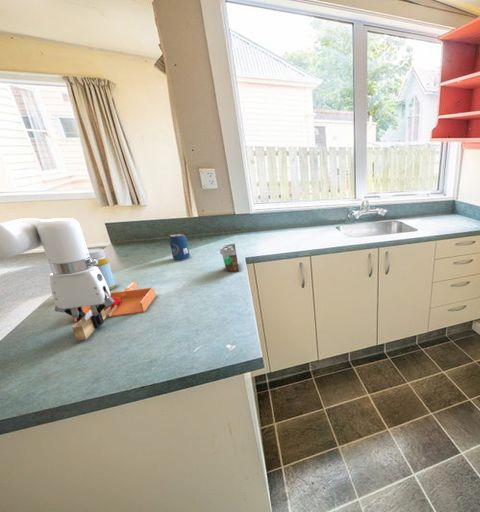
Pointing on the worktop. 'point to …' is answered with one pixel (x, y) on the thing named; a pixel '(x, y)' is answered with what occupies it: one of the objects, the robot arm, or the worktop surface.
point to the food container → (230, 257)
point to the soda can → (179, 247)
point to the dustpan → (130, 300)
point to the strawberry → (116, 301)
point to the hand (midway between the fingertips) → (92, 326)
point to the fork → (89, 323)
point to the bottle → (102, 266)
